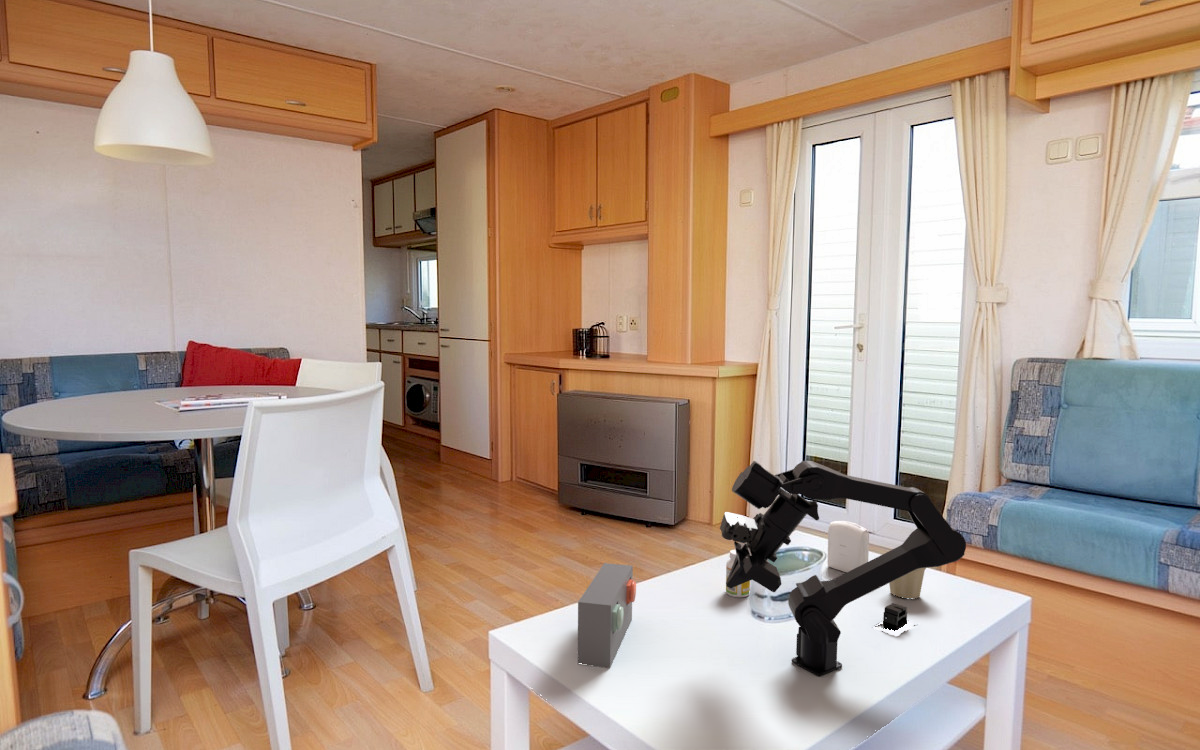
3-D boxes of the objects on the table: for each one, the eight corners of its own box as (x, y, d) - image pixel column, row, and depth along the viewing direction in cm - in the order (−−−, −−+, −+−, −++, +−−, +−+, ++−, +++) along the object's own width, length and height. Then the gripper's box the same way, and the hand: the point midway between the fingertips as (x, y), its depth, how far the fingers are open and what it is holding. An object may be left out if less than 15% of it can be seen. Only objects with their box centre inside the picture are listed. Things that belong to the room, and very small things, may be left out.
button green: (623, 624, 130) (623, 603, 130) (619, 633, 126) (619, 612, 126) (599, 621, 131) (599, 600, 131) (594, 630, 127) (594, 609, 127)
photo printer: (824, 566, 178) (826, 519, 177) (834, 563, 181) (836, 516, 180) (860, 578, 170) (862, 528, 169) (870, 575, 173) (872, 525, 172)
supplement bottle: (748, 589, 162) (749, 548, 162) (751, 598, 157) (752, 556, 156) (724, 588, 163) (725, 547, 162) (726, 597, 157) (727, 555, 157)
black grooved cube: (896, 644, 137) (897, 621, 136) (861, 631, 142) (862, 609, 142) (925, 626, 145) (926, 604, 144) (892, 614, 150) (892, 593, 150)
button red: (635, 597, 142) (636, 578, 142) (632, 605, 139) (632, 585, 138) (613, 595, 144) (614, 576, 143) (609, 603, 140) (609, 583, 139)
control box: (631, 619, 145) (632, 565, 144) (610, 668, 125) (610, 605, 124) (603, 616, 146) (604, 563, 146) (577, 664, 126) (578, 602, 125)
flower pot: (873, 589, 163) (875, 553, 163) (906, 585, 166) (908, 549, 165) (902, 605, 154) (903, 566, 154) (936, 600, 157) (938, 562, 156)
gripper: (734, 478, 134) (687, 539, 138) (751, 524, 116) (697, 593, 120) (781, 507, 135) (734, 567, 139) (805, 557, 117) (750, 625, 121)
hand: (728, 586), depth 129 cm, fingers closed
